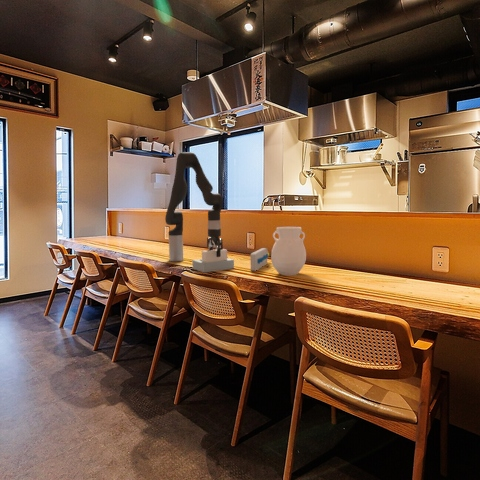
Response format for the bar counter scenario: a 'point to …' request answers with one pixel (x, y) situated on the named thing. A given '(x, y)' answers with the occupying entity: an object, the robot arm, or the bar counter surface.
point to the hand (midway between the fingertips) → (214, 256)
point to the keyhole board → (212, 265)
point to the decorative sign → (259, 258)
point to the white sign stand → (213, 255)
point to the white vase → (288, 250)
